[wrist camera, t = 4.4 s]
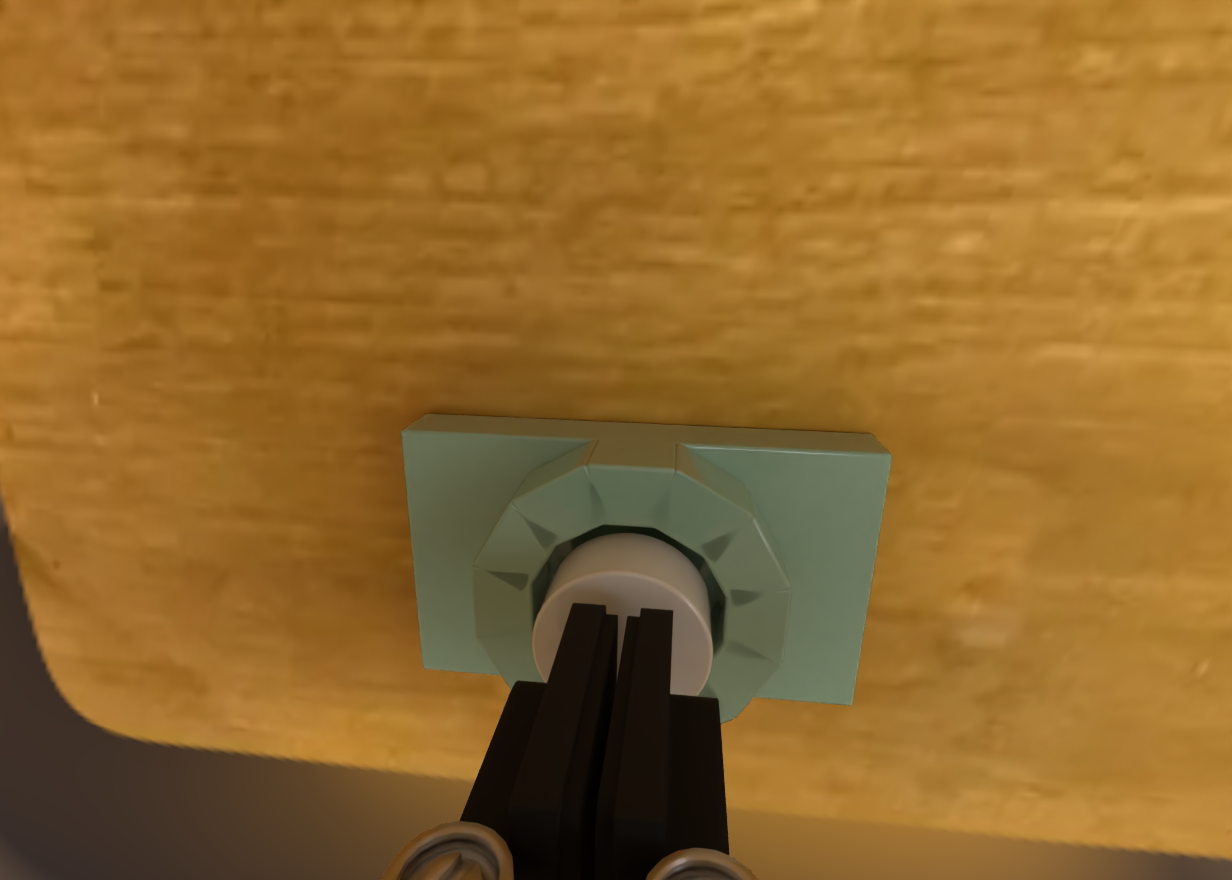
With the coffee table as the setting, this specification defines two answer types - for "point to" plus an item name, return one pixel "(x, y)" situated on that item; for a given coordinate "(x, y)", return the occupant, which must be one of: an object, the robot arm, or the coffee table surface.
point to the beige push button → (632, 601)
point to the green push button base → (657, 507)
